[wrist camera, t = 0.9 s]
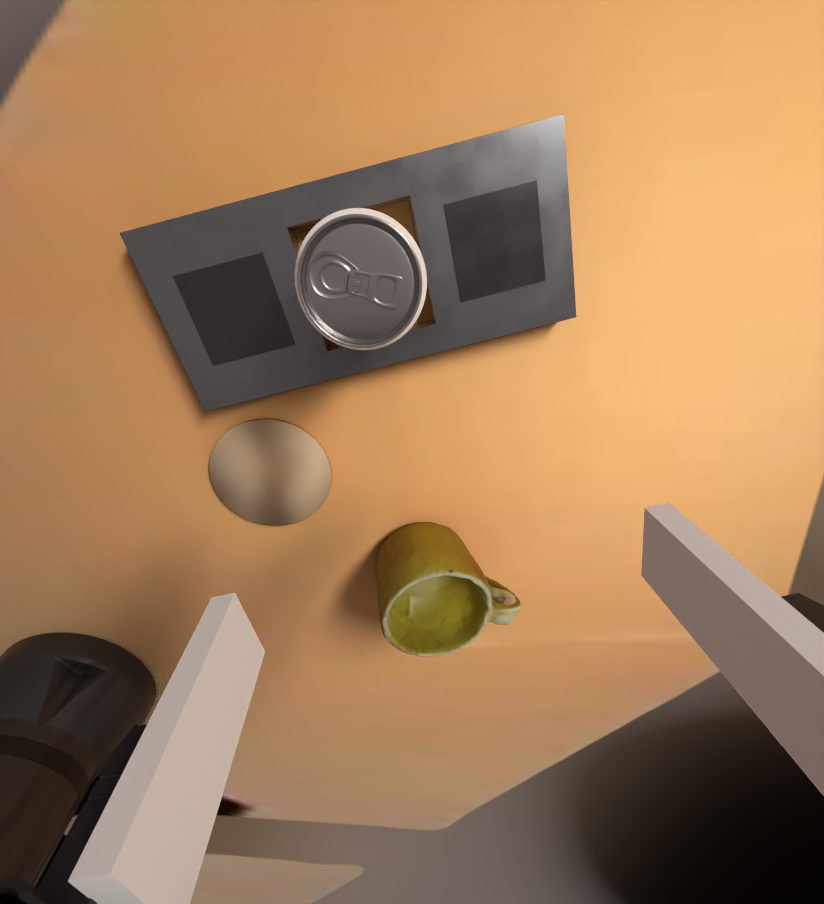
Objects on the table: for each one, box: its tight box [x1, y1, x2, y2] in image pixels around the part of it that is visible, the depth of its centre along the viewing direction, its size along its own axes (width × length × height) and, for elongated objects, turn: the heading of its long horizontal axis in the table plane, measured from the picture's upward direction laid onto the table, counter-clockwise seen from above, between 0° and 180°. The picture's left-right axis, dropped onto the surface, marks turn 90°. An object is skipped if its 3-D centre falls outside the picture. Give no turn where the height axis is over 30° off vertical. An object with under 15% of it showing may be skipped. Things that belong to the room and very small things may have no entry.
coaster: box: [209, 418, 332, 526], centre depth 35 cm, size 10×10×1 cm
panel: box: [120, 114, 576, 412], centre depth 29 cm, size 28×12×2 cm, turn 103°
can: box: [295, 208, 427, 350], centre depth 24 cm, size 6×6×12 cm
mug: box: [376, 522, 521, 657], centre depth 37 cm, size 12×10×10 cm
